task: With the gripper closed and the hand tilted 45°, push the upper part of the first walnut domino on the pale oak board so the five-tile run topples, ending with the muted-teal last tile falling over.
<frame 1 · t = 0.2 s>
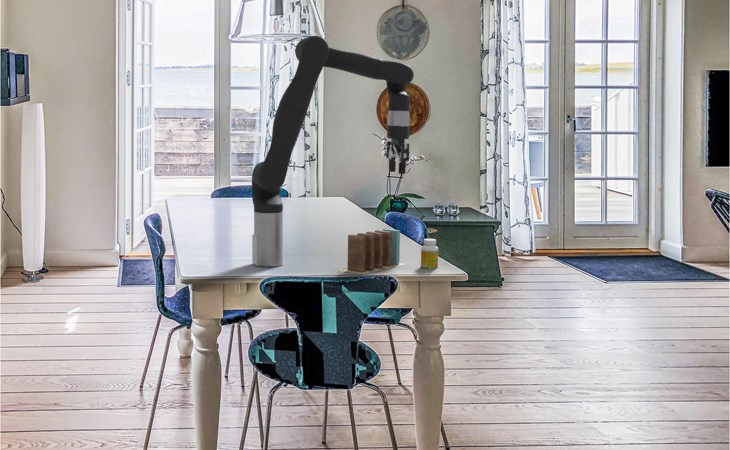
hand: (396, 172, 287), 29 cm above the table, tool pointing down, fingers open, 8 cm apart
domino 1: (356, 271, 261), point 1 cm above the table, touching domino board
domino 2: (365, 269, 265), point 1 cm above the table, touching domino board
domino 3: (374, 267, 268), point 1 cm above the table, touching domino board
domino board: (374, 269, 268), on the table
domino 5: (390, 263, 275), point 1 cm above the table, touching domino board
supplement bottle: (429, 270, 270), on the table
domino 4: (382, 265, 272), point 1 cm above the table, touching domino board
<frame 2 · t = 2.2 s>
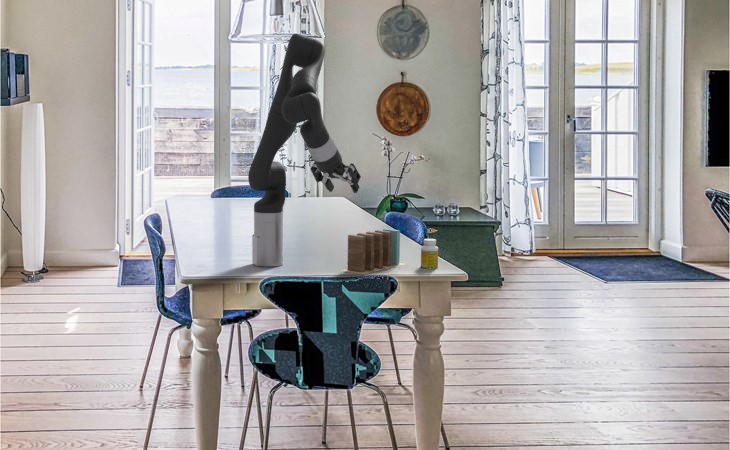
hand: (344, 190, 251), 26 cm above the table, tool tilted 45°, fingers open, 8 cm apart
nothing on the table moved.
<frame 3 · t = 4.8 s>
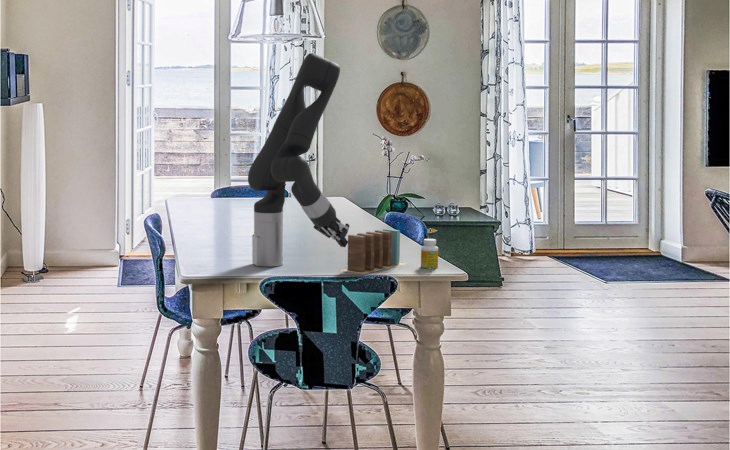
hand: (344, 244, 255), 10 cm above the table, tool tilted 45°, fingers closed
nothing on the table moved.
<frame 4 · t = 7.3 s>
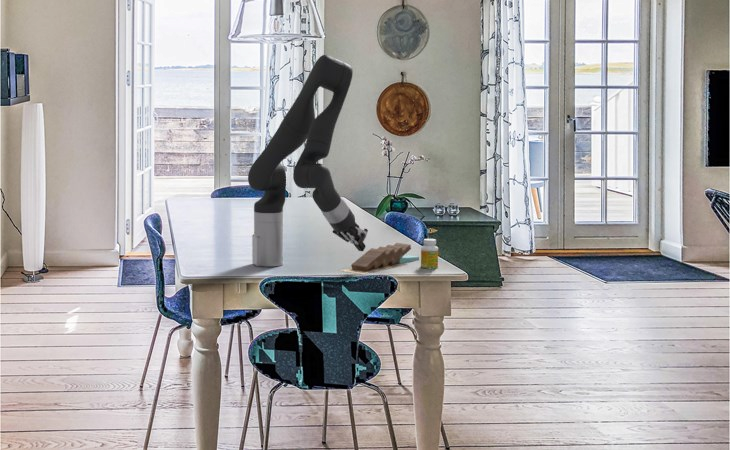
hand: (362, 248, 263), 7 cm above the table, tool tilted 45°, fingers closed
domino 1: (358, 268, 262), point 2 cm above the table, tilted 69°, touching domino 2, domino board
domino 2: (367, 266, 266), point 2 cm above the table, tilted 69°, touching domino 1, domino 3, domino board
domino 3: (376, 264, 269), point 2 cm above the table, tilted 68°, touching domino 2, domino 4, domino board
domino 5: (392, 260, 276), point 2 cm above the table, tilted 94°, touching domino 4, domino board
domino 4: (385, 262, 273), point 2 cm above the table, tilted 68°, touching domino 3, domino 5
everything else where it was.
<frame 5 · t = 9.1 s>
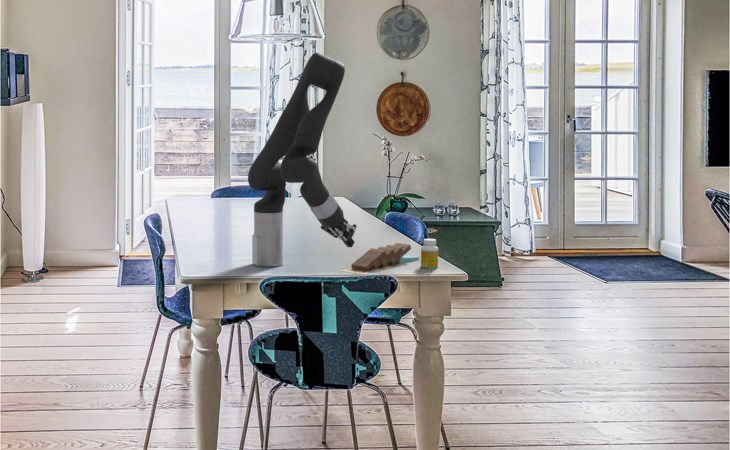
hand: (351, 244, 258), 9 cm above the table, tool tilted 45°, fingers closed
nothing on the table moved.
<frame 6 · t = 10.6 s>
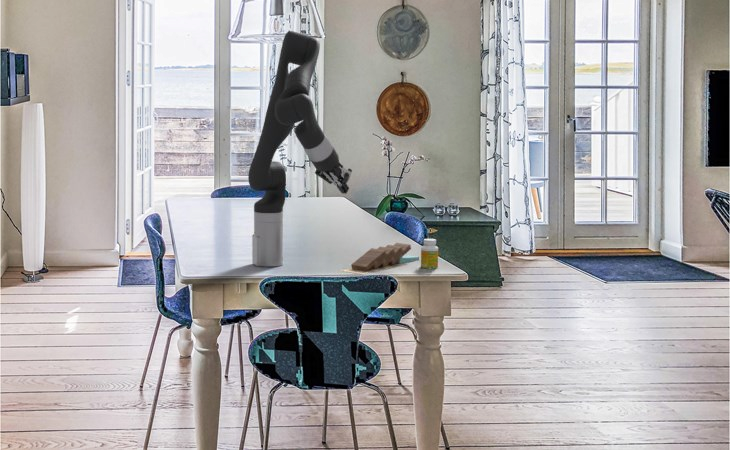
hand: (345, 191, 253), 26 cm above the table, tool tilted 45°, fingers closed
nothing on the table moved.
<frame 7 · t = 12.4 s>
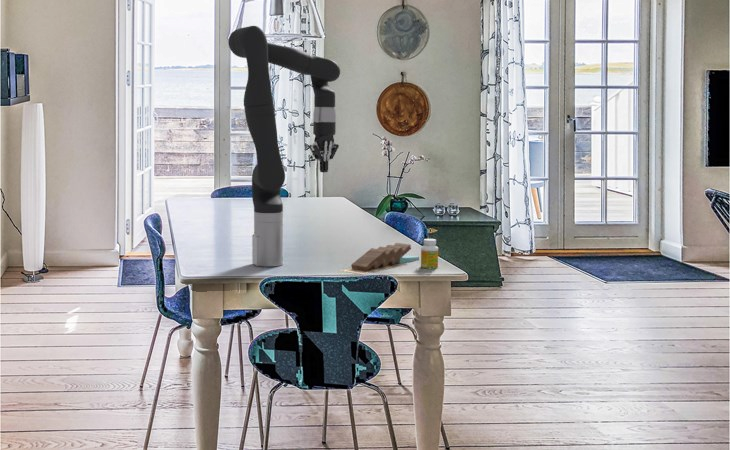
hand: (323, 172, 288), 29 cm above the table, tool pointing down, fingers closed
nothing on the table moved.
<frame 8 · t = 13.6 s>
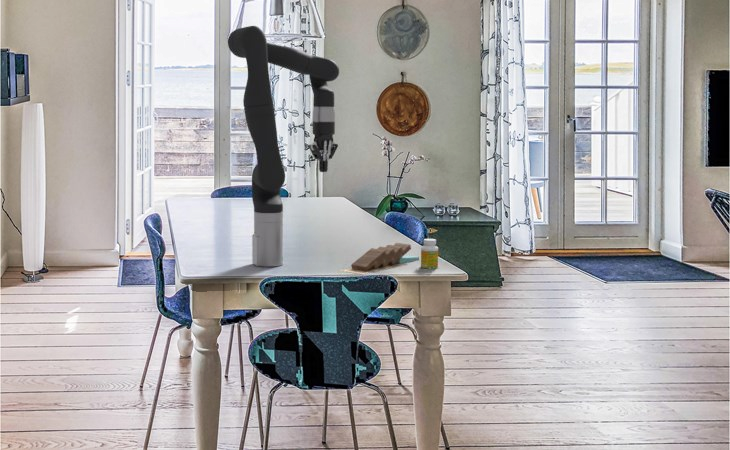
hand: (323, 171, 288), 29 cm above the table, tool pointing down, fingers closed
nothing on the table moved.
at the end: domino 1 tilted 69°; domino 5 tilted 95°; supplement bottle moved 0.2 cm from its start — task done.
